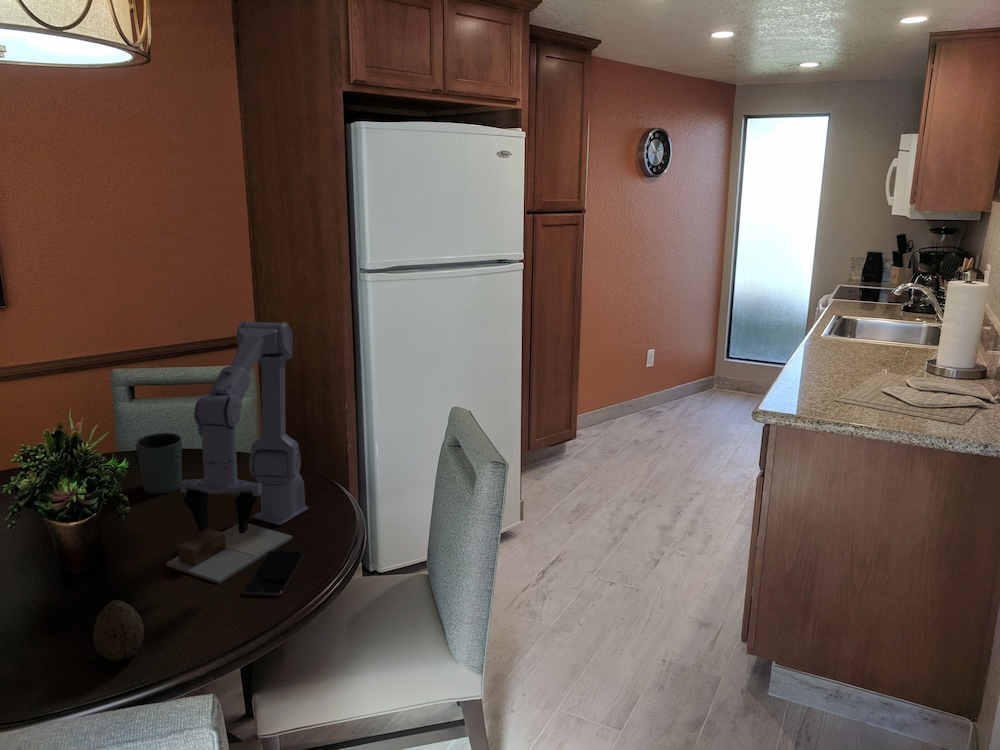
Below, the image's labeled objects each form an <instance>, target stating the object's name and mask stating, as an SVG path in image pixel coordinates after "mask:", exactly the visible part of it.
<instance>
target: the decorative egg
mask: <svg viewBox="0 0 1000 750" xmlns="http://www.w3.org/2000/svg"><path fill="white" fill-rule="evenodd" d="M144 636H145V627H144V622H143V619H142V618H141V615H140V614H139V613H138V611H137V610H136V609H135V608H134V607H133V606H132V605H130V604H128V603H127V602H125V601H122V600H121V599H120V600H119V599H116V600H115V599H114V600H112V601H110V602H109V603H108V604H106V606H105V607H104V608H103V609H102V610H101V612H100V613H99V614H98V616H97V618H96V620H95V624H94V626H93V631H92V642H93V646H94V648H95V650H96V651H97V653H98V654H99V656H101V657H102V658H103V659H106V660H108V661H112V662H121V661H124V660H127V659H129V658H131V657H132V656H134V654H135V653H137V652H138V651H139V649H140V648H141V646H142V644H143V640H144Z"/></svg>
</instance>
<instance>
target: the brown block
mask: <svg viewBox="0 0 1000 750" xmlns="http://www.w3.org/2000/svg"><path fill="white" fill-rule="evenodd" d="M222 532H223V531H218V530H215V529H212V528H209V529H207V530H204V531H202V532H201V533H200V534H197V535H194V536H193V537H191V538H190V539H188V540H186V541H184V542H181V544H178V545H177V551H178V556H179V562H181V563H184V564H187V565H190V566H193V567H195V566H197V565H199V564H200V563H202V562H204V561H206V560H207V559H209V558H211V557H213V556H214V555H216V554H218V553H220V552H221V551H223V550H225V549H226V545H225V534H224V533H222Z"/></svg>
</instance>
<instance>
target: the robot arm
mask: <svg viewBox="0 0 1000 750" xmlns="http://www.w3.org/2000/svg"><path fill="white" fill-rule="evenodd" d="M235 337H236V338H235V339H236V343H237V349H236V351H235V354H234V356H233V359H232V362H231V363H230V366H229V365H228V366H225V367H224V368H222V369H221V370H220V372H219V374H218V376H217V377H216V379H215V382H214V383H213V384H212V386H211V388H210V390H209V392H208V393H207V394H203V396H201V397H199V398H198V399H197V400H196V403H195V406H194V413H193V417H194V422H195V424H196V426H197V433H198V436H199V437H201V443H202V445H201V446H202V447H201V448H202V449H201V450H202V467H203V478H197V479H194V478H193V479H183V480H182V482H181V483H180V488H179V489H180V493H182V494H185V496H184V497H183V502H184V503H185V504H186V506H187V507H188V508H189V510H190V511H191V513H192V515H193V517H194V520H195V523H196V525H197V528H198V531H199V532H205V531H206V529H207V528H208V522H209V520H208V519H209V518H208V517H209V516H208V500H209V495H210V494H215V495H216V494H227V495H229V494H231V495H238V497H236V498H235V499H234V504H235V507H236V511H237V517H238V518H237V519H238V520H237V521H238V523H237V524H238V526H239V533H241V534H243V533H244V532H245V531H246V530H247V528H248V524H249V521H250V517H251V513H252V510H253V508H254V506H255V503H256V501H257V499H258V497H259V496H260V497H259V498H260V506H261V507H260V508H261V509H260V511H259V512H257V513H255V514H254V515H253V516H252V519H255V520H258V521H259V520H260V521H262V522H266V523H269V524H273V525H276V526H282V525H284V524H285V523H287V522H288V521H290V520H293V519H295V518H296V517H298V516H299V515H301V514H302V513H304V512H306V511H308V510H309V506H306V497H305V496H306V494H305V492H306V491H305V482H304V479H303V477H302V476H301V474H300V471H301V464H302V459H301V458H302V457H301V453H300V448H299V443H298V442H297V441H296V440H295V439H293V438H292V437H290V436H289V435H288V434H287V433H286V432H287V431H286V423H287V422H286V361H288V360H291V359H293V331H292V329H291V327H290V325H289V324H288V323H287V322H286V321H285V322H262V321H261V322H259V321H246V320H244V321H243V320H242V321H241V323H240V324H239V325H238V327H237V330H236V336H235ZM257 362H258V363H259V364H260V367H261V370H260V371H261V372H260V373H261V433H262V436H260V437H259V438H258V439H256V440H255V441H254V442H253V443H252V445H251V447H250V456H249V460H248V467H249V472H250V473H251V475H252V476H253V477H254V478H255V481H256V482H253V481H248V480H245V479H244V480H243V479H238V464H237V463H238V462H237V461H238V459H237V439H236V437H237V436H236V426H237V425H238V423H239V422H240V419H241V418H240V417H241V411H242V408H243V402H242V400H243V398H244V397H245V395H246V392H247V391H248V388H249V387H250V385H251V378H250V375H249V374H250V373H251V372H252V370H253V369H254V367H255V366H256V364H257ZM239 495H240V496H239Z"/></svg>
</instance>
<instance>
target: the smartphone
mask: <svg viewBox="0 0 1000 750" xmlns="http://www.w3.org/2000/svg"><path fill="white" fill-rule="evenodd" d="M305 556H306V555H305V552H304V551H294V550H293V551H291V550H273V551H270V552H269V553H268V554H267V555H265V556H264V559H263V560H262V562H261V564H260V565H259V567H258V568H257V569H256V571H255V572H254V573H253V574H252V577H251V578H250V579H249V581H248V582H247V584H245V587H244V588H243V589H242V595H243V596H255V597H257V596H258V597H280V596H282V595H283V593H284V591H285V589H287V586H288V584H289V583H290V581H291V579H292V578H293V576H294V574H295V573H296V571H297V569H298V568H299V566H300V564H301V562H302V561H301V560H303V559H304V557H305Z"/></svg>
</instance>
